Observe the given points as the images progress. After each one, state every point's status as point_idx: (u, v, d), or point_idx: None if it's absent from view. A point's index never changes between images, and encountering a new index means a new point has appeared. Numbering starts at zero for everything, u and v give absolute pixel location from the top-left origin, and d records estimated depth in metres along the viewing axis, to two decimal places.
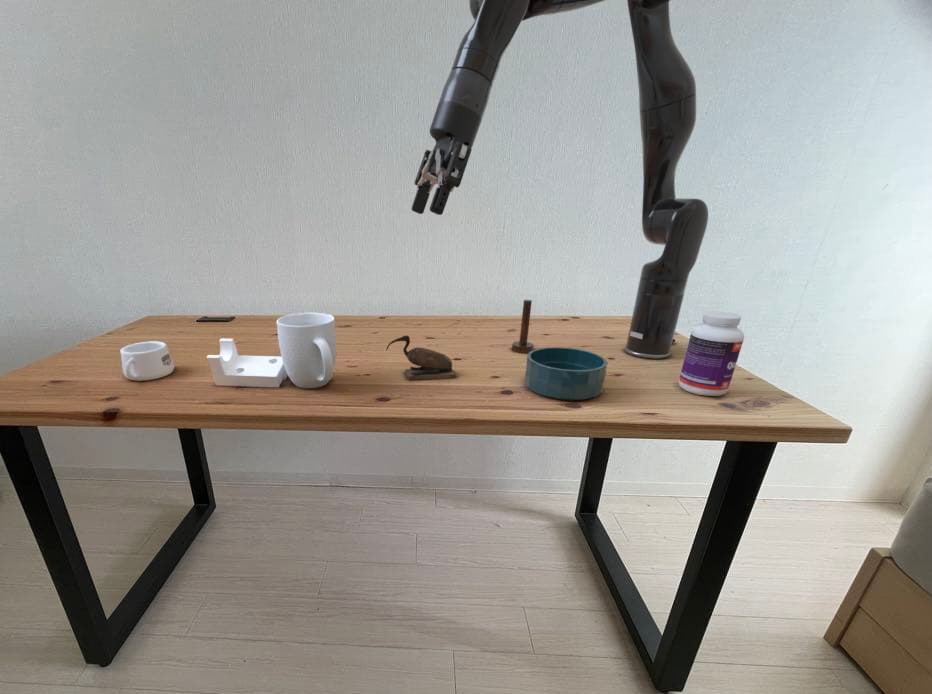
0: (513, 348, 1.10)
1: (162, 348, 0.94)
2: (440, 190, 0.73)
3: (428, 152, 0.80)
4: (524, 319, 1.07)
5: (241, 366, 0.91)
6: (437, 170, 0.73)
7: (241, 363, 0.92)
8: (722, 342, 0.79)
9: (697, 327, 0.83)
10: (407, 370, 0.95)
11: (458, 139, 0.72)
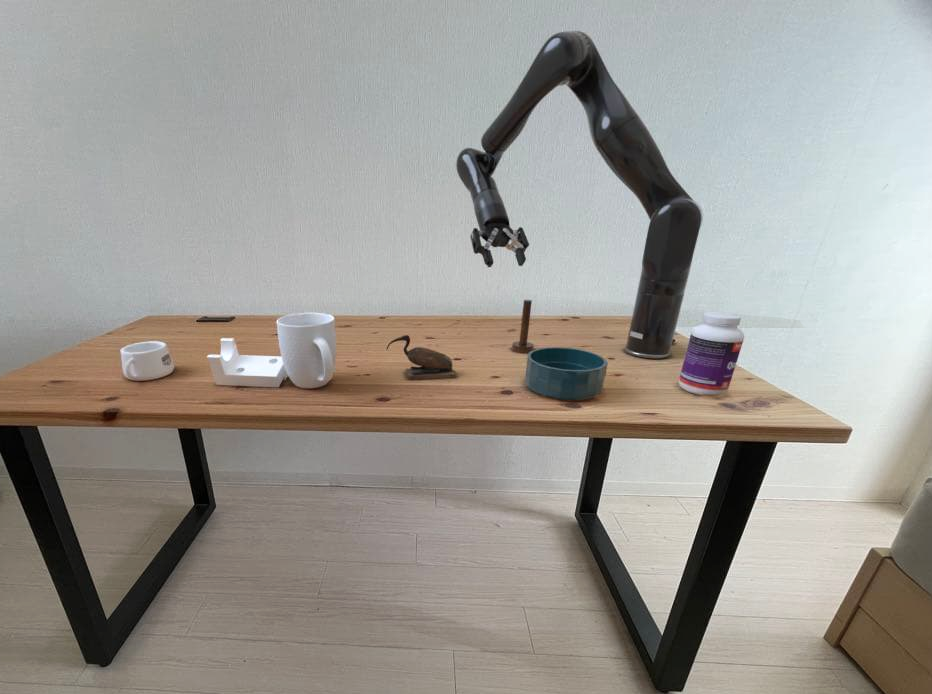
0: (513, 348, 1.10)
1: (162, 348, 0.94)
2: None
3: None
4: (524, 319, 1.07)
5: (241, 366, 0.91)
6: None
7: (241, 363, 0.92)
8: (722, 342, 0.79)
9: (697, 327, 0.83)
10: (407, 370, 0.96)
11: (481, 228, 1.16)
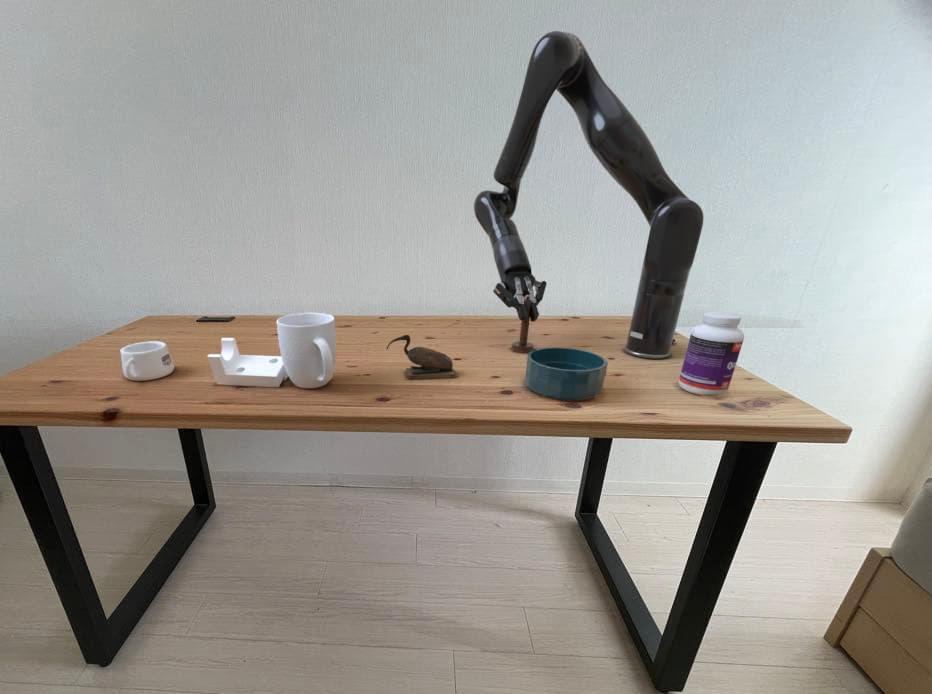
0: (513, 348, 1.10)
1: (162, 348, 0.94)
2: None
3: None
4: None
5: (242, 365, 0.92)
6: None
7: (242, 363, 0.92)
8: (722, 342, 0.79)
9: (697, 327, 0.83)
10: (408, 369, 0.96)
11: (501, 276, 1.09)
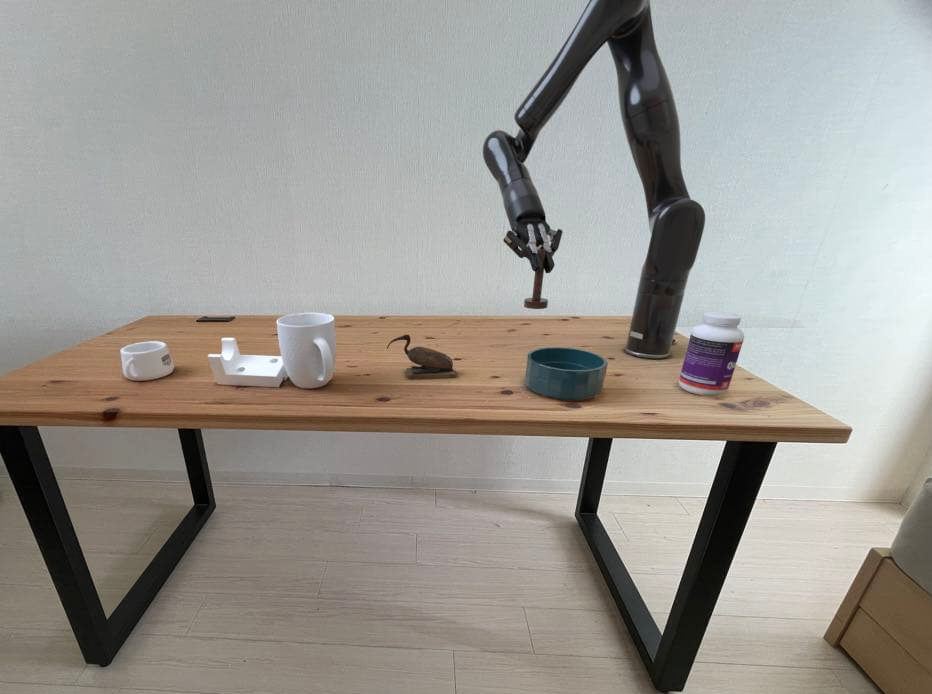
0: (525, 304, 0.99)
1: (162, 348, 0.94)
2: None
3: None
4: None
5: (242, 365, 0.92)
6: None
7: (242, 362, 0.93)
8: (722, 342, 0.79)
9: (697, 327, 0.83)
10: (408, 369, 0.96)
11: (512, 224, 0.98)
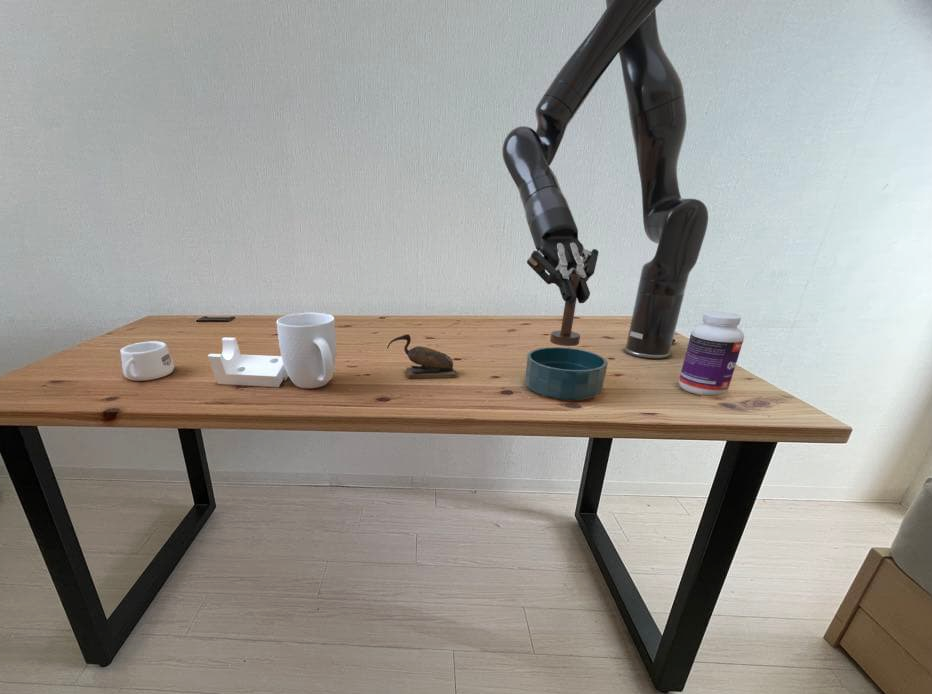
0: (552, 339, 0.82)
1: (162, 348, 0.94)
2: None
3: None
4: None
5: (242, 365, 0.92)
6: None
7: (242, 362, 0.93)
8: (722, 342, 0.79)
9: (697, 327, 0.83)
10: (408, 369, 0.96)
11: (538, 243, 0.81)
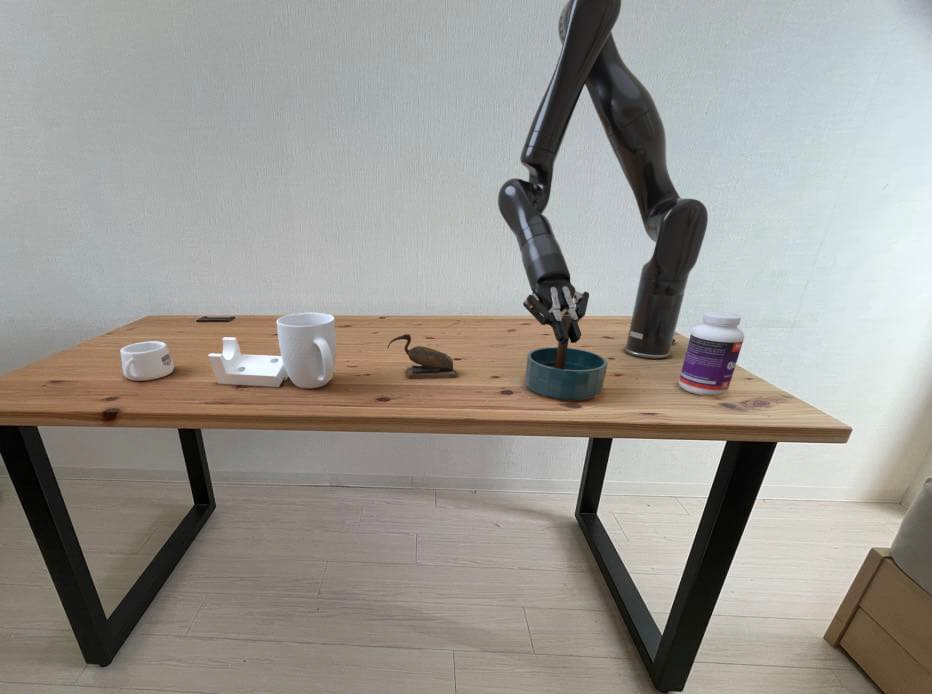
0: None
1: (162, 348, 0.94)
2: None
3: None
4: None
5: (243, 365, 0.92)
6: None
7: (243, 362, 0.93)
8: (722, 342, 0.79)
9: (697, 327, 0.83)
10: (408, 368, 0.96)
11: (533, 286, 0.88)
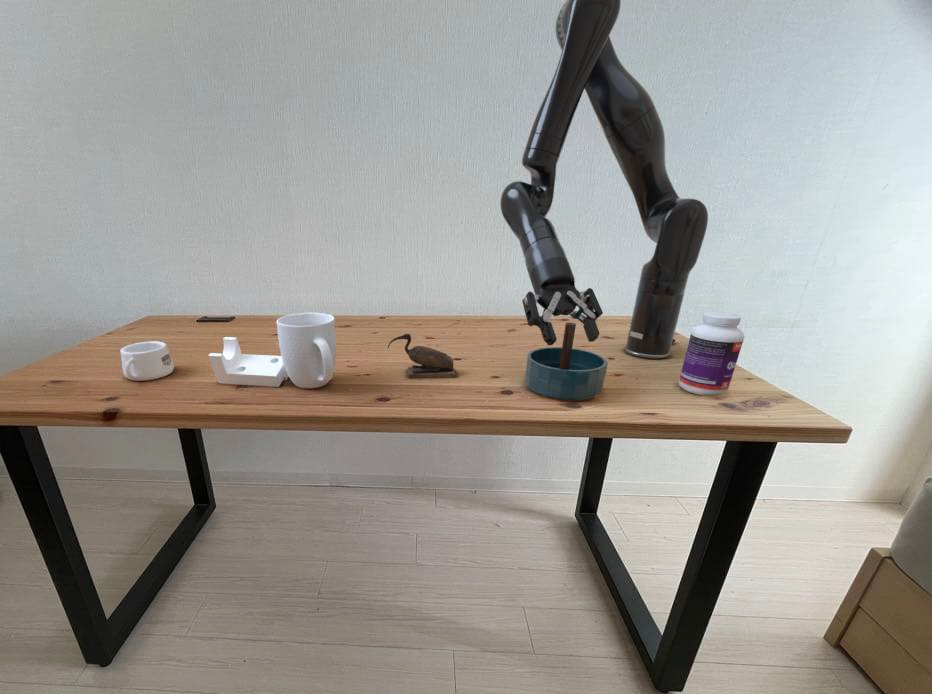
0: None
1: (162, 348, 0.94)
2: None
3: None
4: (565, 347, 0.84)
5: (243, 365, 0.92)
6: None
7: (243, 362, 0.93)
8: (722, 342, 0.79)
9: (697, 327, 0.83)
10: (409, 368, 0.96)
11: (537, 291, 0.86)
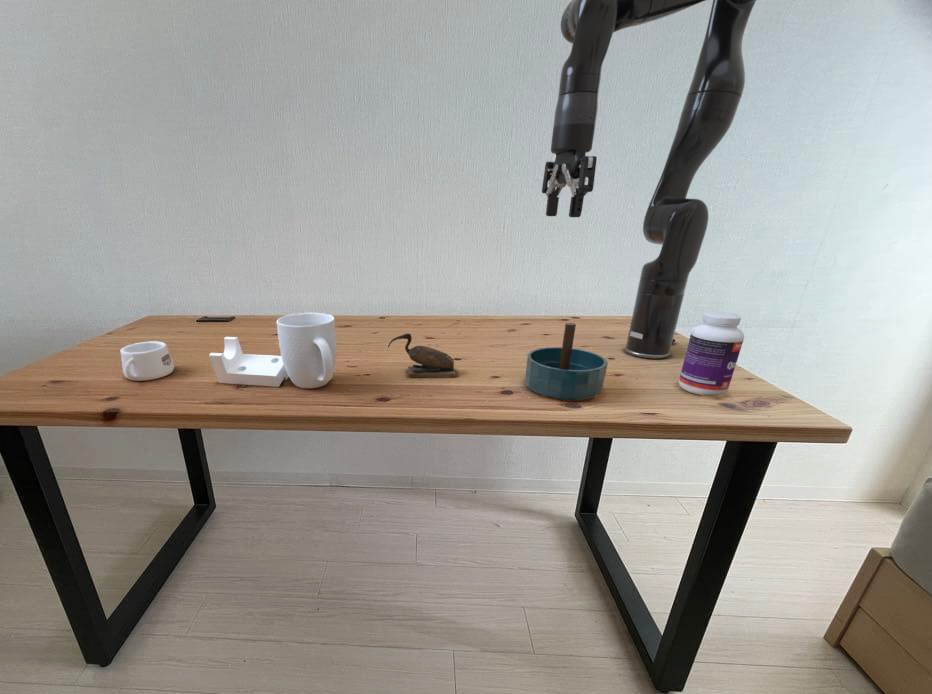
0: None
1: (162, 348, 0.94)
2: (575, 198, 0.87)
3: (549, 163, 0.94)
4: (565, 347, 0.84)
5: (243, 364, 0.92)
6: (568, 182, 0.87)
7: (244, 361, 0.93)
8: (722, 342, 0.79)
9: (697, 327, 0.83)
10: (409, 368, 0.97)
11: (581, 151, 0.85)
